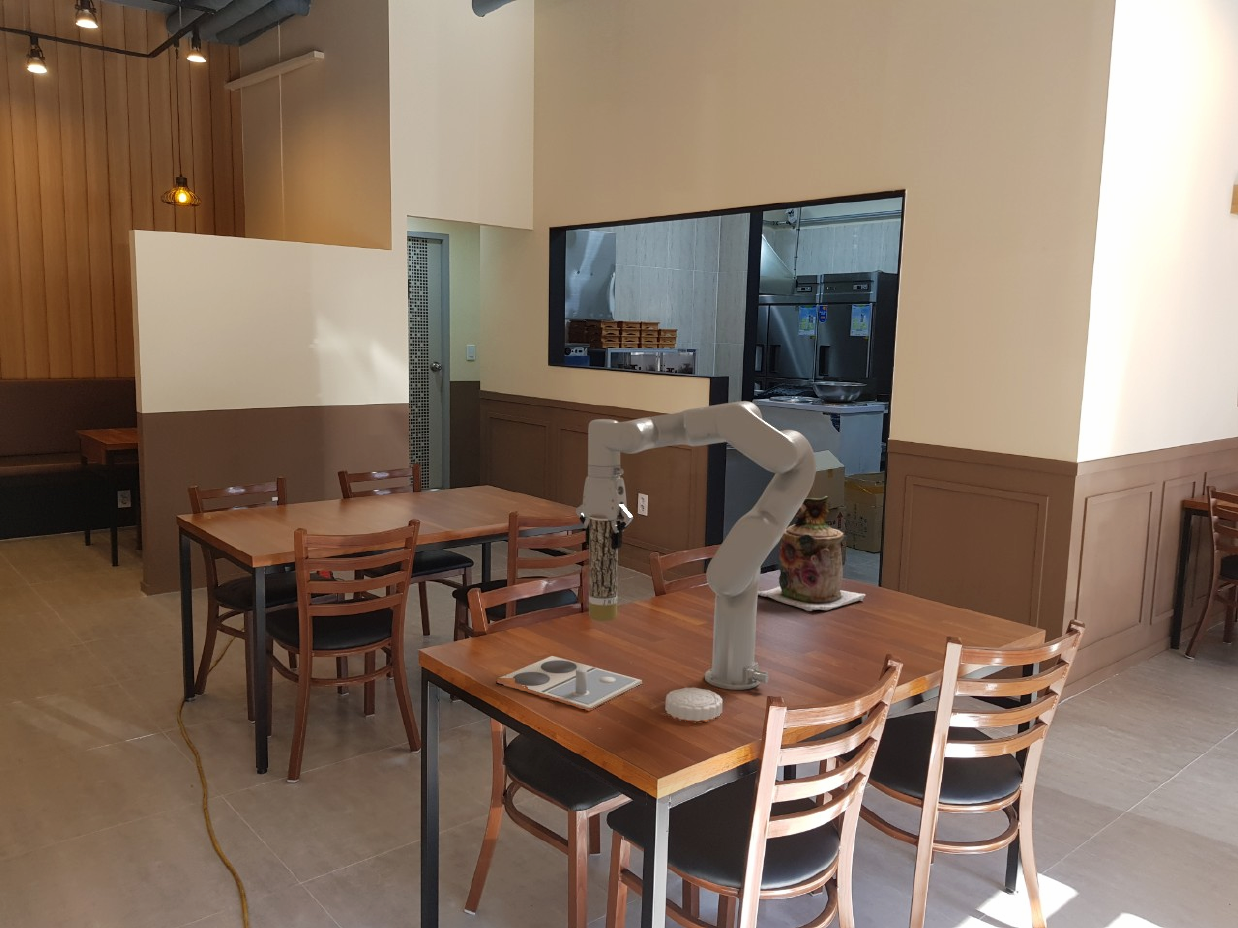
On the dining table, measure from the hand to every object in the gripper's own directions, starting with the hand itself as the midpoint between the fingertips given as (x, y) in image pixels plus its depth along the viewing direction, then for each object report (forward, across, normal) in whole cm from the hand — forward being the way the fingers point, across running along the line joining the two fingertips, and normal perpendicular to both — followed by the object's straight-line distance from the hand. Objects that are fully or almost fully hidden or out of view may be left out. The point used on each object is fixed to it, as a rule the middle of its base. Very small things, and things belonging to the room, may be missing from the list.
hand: (603, 545), depth 228 cm
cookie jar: (+29, -17, -84) cm, 91 cm away
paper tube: (+18, 0, 0) cm, 18 cm away
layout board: (+28, -3, +17) cm, 33 cm away
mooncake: (+29, -33, +13) cm, 46 cm away
